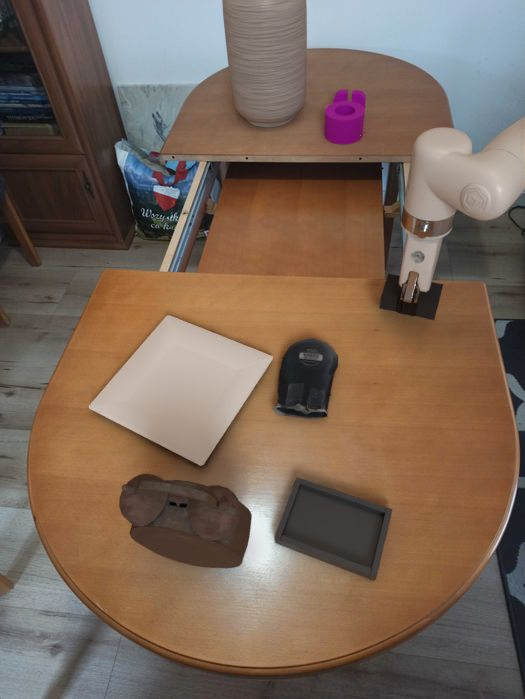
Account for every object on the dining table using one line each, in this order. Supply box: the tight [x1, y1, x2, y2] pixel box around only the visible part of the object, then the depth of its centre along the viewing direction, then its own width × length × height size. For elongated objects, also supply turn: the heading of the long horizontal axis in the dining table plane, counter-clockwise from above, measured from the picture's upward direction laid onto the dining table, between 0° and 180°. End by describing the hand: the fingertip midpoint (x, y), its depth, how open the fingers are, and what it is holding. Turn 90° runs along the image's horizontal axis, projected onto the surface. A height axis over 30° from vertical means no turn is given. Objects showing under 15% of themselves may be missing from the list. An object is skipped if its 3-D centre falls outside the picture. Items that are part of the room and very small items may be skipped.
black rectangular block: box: [378, 273, 444, 321], centre depth 87 cm, size 10×6×4 cm, turn 69°
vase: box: [221, 0, 308, 128], centre depth 125 cm, size 20×20×34 cm
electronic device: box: [271, 337, 339, 420], centre depth 81 cm, size 9×6×15 cm
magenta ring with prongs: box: [323, 89, 367, 145], centre depth 129 cm, size 16×10×6 cm, turn 166°
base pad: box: [273, 476, 393, 582], centre depth 67 cm, size 14×9×2 cm
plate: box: [88, 314, 274, 466], centre depth 83 cm, size 22×22×2 cm
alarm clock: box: [118, 473, 253, 569], centre depth 60 cm, size 15×7×20 cm, turn 78°
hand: (409, 300), depth 87 cm, fingers closed on black rectangular block, 5 cm apart
